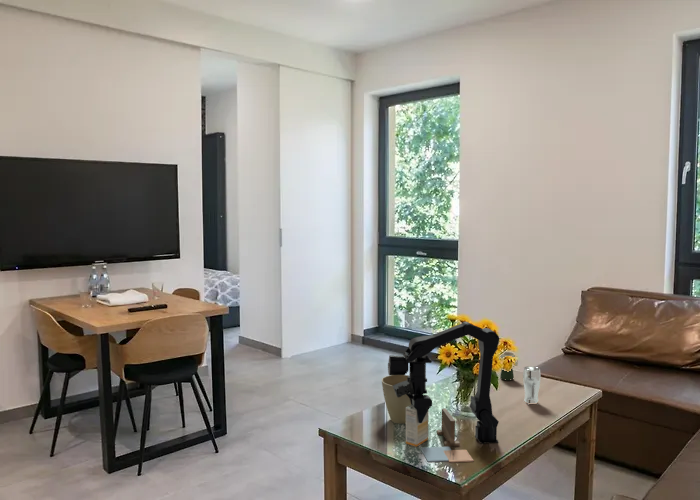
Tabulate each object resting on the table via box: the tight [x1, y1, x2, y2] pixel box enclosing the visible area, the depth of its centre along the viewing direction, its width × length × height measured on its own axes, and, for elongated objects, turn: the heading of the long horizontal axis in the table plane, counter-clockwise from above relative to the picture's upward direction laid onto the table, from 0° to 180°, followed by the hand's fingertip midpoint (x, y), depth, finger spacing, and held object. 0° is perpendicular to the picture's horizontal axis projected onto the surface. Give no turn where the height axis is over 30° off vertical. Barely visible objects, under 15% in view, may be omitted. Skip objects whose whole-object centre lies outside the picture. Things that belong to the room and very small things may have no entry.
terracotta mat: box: [444, 449, 474, 463], centre depth 182 cm, size 8×8×1 cm
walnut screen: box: [436, 408, 461, 447], centre depth 195 cm, size 5×12×9 cm, turn 6°
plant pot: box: [381, 374, 411, 425], centre depth 213 cm, size 15×15×16 cm
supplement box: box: [405, 405, 430, 447], centre depth 193 cm, size 8×5×13 cm, turn 141°
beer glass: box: [522, 365, 541, 403], centre depth 232 cm, size 7×7×15 cm
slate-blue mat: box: [420, 446, 455, 463], centre depth 183 cm, size 10×10×1 cm
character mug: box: [499, 351, 519, 381], centre depth 264 cm, size 11×7×13 cm, turn 43°
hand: (417, 417), depth 193 cm, fingers open, 9 cm apart
